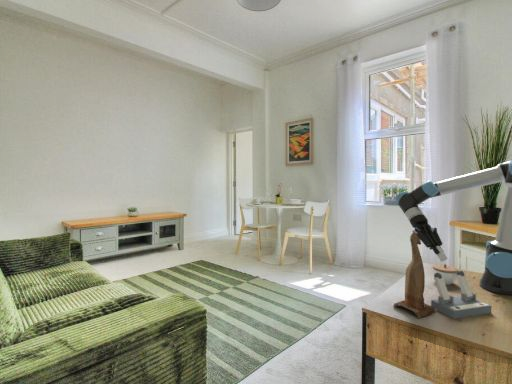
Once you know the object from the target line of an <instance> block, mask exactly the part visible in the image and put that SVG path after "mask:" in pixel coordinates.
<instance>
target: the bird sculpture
mask: <svg viewBox="0 0 512 384" xmlns="http://www.w3.org/2000/svg"><path fill="white" fill-rule="evenodd" d="M409 241H410V245H411V260H410V262H409V264H408V265H407V267H406V269H405V278H404V279H405V281H404V300H401V301H397V302H394V303H393V307H394V308H395V307H397V306H401V307H403V308H405V309H408V310H410V311H412V312H413V313H414V314H415V315H416V317H417V319H419V320H420V319H421V318H425V317H428V316H430V315H432V314H436V309H435V308H434V307H432V306H431V304H428V303H425V297H424V293H425V282H426V281H425V268H424V262H423V259H422V256H421V252H420V248H419V246H418V245H422V241H421V240H420V238H419V237H418V236H417V234H416V233H415V232H414V233H413V232H412V233H411V234H410V236H409Z"/></svg>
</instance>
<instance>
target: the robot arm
mask: <svg viewBox="0 0 512 384" xmlns="http://www.w3.org/2000/svg"><path fill="white" fill-rule="evenodd" d="M497 183H503V184H505V185H506V186H507V191H506V192H507V193H506V196H505V200H504V203H503V208H502V212H501V216H500V218H499V219H500V220H499V224H498V228H497V231H496V236H495V239H494V240H487V241H486V245H485V262H484V271H483V274H482V275H481V278H480V279H479V287H481V288H482V289H484V290H486V291H489V292H492V293H497V294H500V295H507V296H512V159H510V160H506V161H504V162H501V163H498V164H497V165H496V166H494V167H490V168H486V169H482V170H478V171H474V172H471V173H466V174H464V175H458V176H455V177H450V178H447V179H443V180H440V181H436V182H433V181H432V180H427V181H426V182H423V183H422V184H421V185H419V186H418V187H416V188H415V189H413V190H412V191H410V192H409V191H407V190H406V191H402V192H399V193H398V194H396V196H395V201H396V203H397V205H398V207H399V208H400V209H401V211H402V212H403V214H404V215H405V217H406V218H407V220H408V221H409V223H410V225H411V226H412V228H414V229H413V230H412V233H414V232H415V233H416V234H417V236H418V237H419V238H420V241H421V243H423V245H424V246H425V247H426V248H429V250H432V251H433V252H434V254H435V256H437V257H438V259H439V261H440V262H445V261H446V260H448V256H447V255H446V253H445V252H444V250H443V249H442V246H443V240H442V239H441V237H440V235H439V233H438V230H437V229H438V228H436V227H434V228H433V227H432V226H431V225H430V224H429V220H428V218H427V217H426V216H425V214H424V213H423V211H422V209H421V208H420V207H419V205H420V204H422V203H424V202H425V201H427V200H429V199H432V198H436V197H440V196H445V195H449V194H452V193H459V192H462V191H466V190H470V189H471V190H472V189H475V188H480V187H484V186H489V185H493V184H497Z"/></svg>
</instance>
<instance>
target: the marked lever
mask: <svg viewBox="0 0 512 384" xmlns="http://www.w3.org/2000/svg"><path fill="white" fill-rule="evenodd" d="M456 274H457V275H456V276H457V279H456V280H457V281H458V284H459V287H460V289H461V293H463V294H466V295H467V299H473V298H474V297H473V295H472V292H473V291H472V289H471V287H470V285H469V281H468V279H467V276H466V273H465V272H464V271H463V270H459V269H458V271H457V272H456Z"/></svg>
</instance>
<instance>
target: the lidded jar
mask: <svg viewBox="0 0 512 384" xmlns="http://www.w3.org/2000/svg"><path fill="white" fill-rule="evenodd" d="M457 271H459V269H458V268H457V267H455V266H451V265H447V264H433V265H432V275H433V276H434V274H435V273H440V274H441V275H442V277H443V279H444V282H445V285H446V286H447V285H448V286H449V285H452V284H453V283H455V282H456V280H458V279H457V276H456V275H457V274H456V272H457Z"/></svg>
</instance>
